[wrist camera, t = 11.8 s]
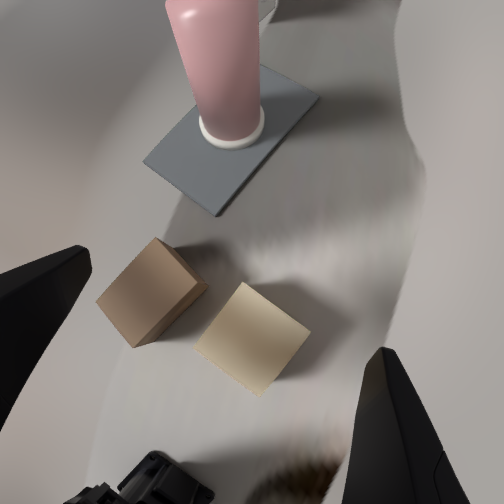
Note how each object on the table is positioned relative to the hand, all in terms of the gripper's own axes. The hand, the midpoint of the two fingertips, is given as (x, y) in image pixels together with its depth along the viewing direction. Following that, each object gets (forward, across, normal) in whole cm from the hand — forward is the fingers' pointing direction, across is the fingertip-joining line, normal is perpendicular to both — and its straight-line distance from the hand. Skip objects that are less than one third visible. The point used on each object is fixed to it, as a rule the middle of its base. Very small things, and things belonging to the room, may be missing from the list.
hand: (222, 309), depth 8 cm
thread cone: (+19, +6, 0) cm, 20 cm away
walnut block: (+9, +6, +11) cm, 15 cm away
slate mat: (+19, +6, 0) cm, 20 cm away
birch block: (+8, -1, +11) cm, 14 cm away
